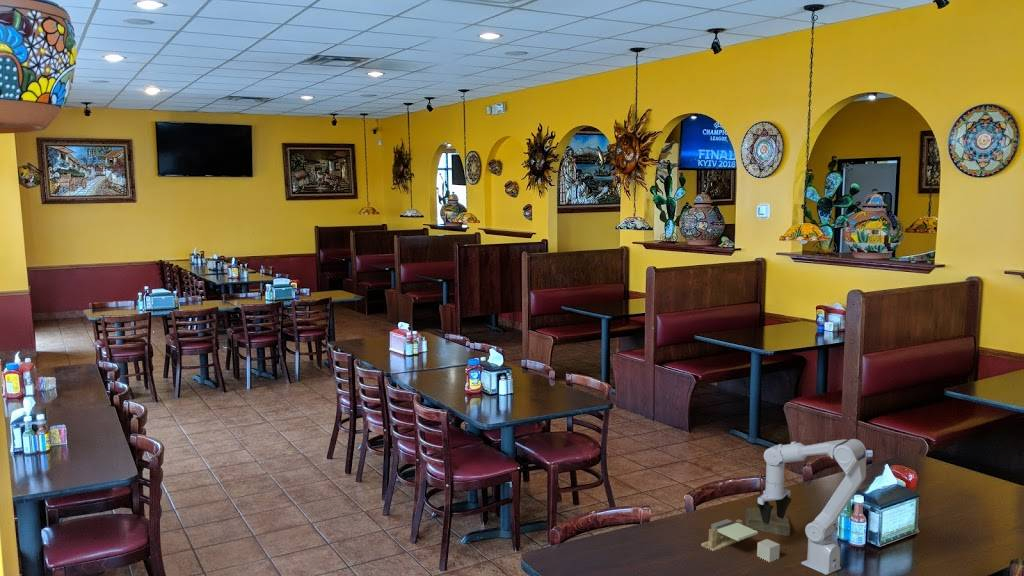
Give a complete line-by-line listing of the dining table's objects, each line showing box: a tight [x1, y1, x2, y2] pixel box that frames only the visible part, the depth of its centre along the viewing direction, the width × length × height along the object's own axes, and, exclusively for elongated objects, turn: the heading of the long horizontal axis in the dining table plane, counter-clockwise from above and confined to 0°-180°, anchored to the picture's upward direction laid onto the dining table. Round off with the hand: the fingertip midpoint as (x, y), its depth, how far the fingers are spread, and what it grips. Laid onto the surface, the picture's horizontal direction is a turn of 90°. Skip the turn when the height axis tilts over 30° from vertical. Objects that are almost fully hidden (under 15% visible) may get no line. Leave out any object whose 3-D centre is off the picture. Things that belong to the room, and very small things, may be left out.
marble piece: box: [744, 507, 791, 537], centre depth 288 cm, size 17×15×4 cm
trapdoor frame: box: [700, 518, 744, 552], centre depth 273 cm, size 5×15×7 cm, turn 124°
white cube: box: [756, 538, 781, 563], centre depth 262 cm, size 5×5×5 cm
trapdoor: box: [710, 518, 759, 542], centre depth 269 cm, size 12×10×1 cm
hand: (773, 520), depth 267 cm, fingers open, 7 cm apart
